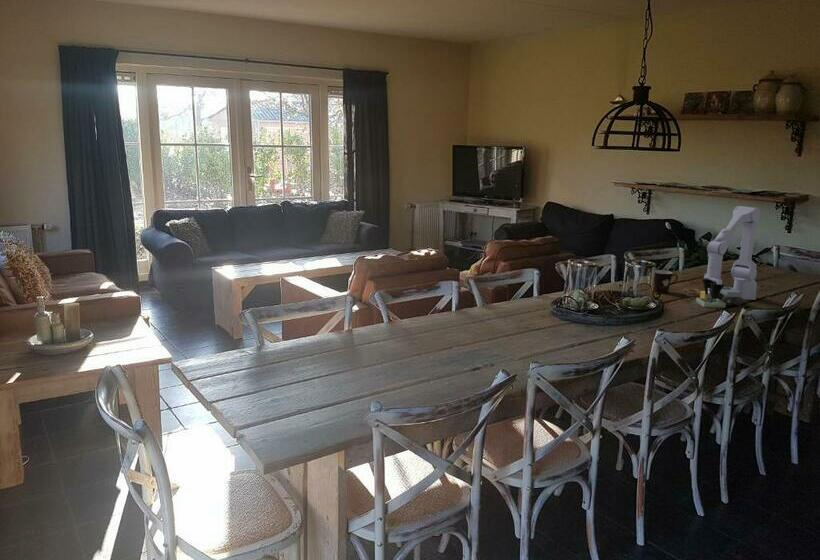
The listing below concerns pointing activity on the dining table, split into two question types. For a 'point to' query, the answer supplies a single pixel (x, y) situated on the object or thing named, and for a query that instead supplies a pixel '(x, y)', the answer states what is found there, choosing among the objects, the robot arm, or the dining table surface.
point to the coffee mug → (663, 281)
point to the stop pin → (709, 296)
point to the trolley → (730, 296)
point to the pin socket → (692, 292)
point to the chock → (703, 294)
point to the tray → (716, 303)
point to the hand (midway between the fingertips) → (711, 296)
